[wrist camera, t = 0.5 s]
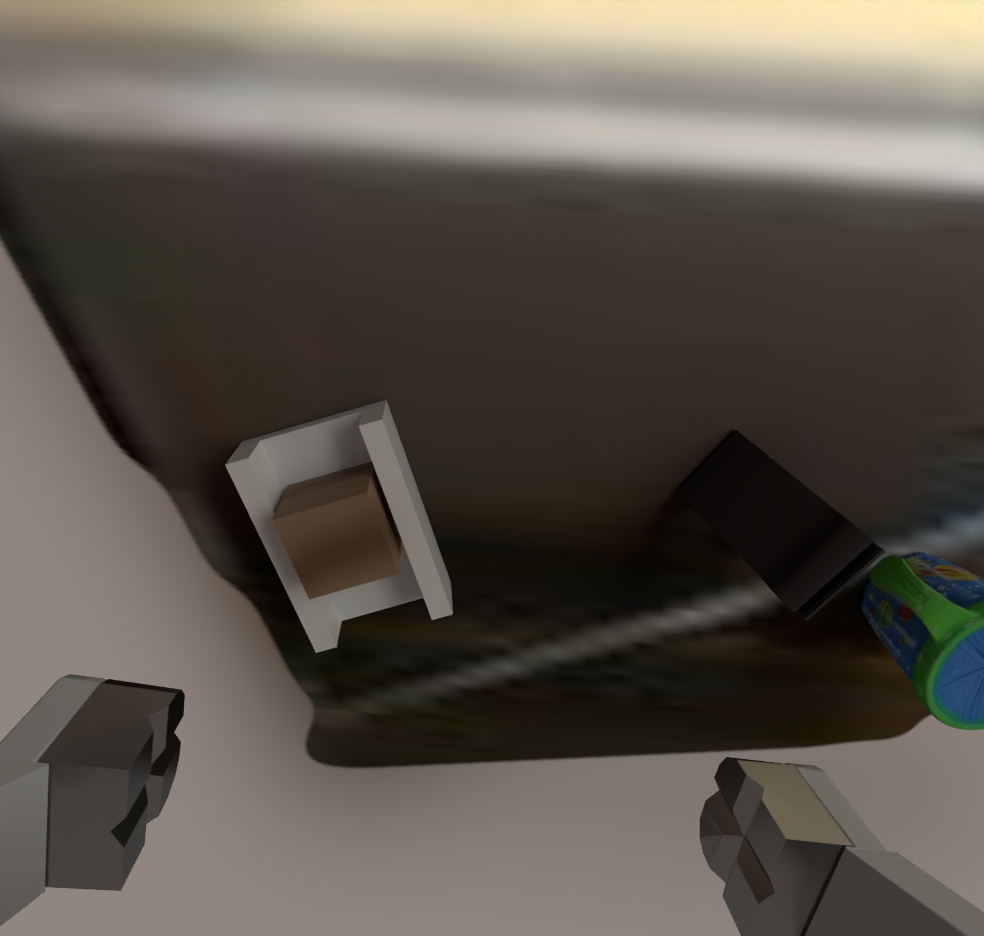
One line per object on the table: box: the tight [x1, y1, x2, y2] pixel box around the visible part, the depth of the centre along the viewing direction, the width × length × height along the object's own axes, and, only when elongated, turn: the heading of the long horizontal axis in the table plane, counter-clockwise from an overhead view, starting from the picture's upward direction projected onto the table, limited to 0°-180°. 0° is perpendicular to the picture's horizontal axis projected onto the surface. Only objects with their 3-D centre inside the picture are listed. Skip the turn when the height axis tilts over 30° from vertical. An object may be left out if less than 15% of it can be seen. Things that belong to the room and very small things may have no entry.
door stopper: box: [677, 430, 885, 621], centre depth 43 cm, size 9×6×12 cm, turn 50°
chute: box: [225, 400, 453, 653], centre depth 44 cm, size 15×10×4 cm, turn 15°
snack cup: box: [861, 552, 984, 730], centre depth 49 cm, size 16×11×10 cm
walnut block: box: [272, 461, 402, 599], centre depth 42 cm, size 6×6×5 cm
